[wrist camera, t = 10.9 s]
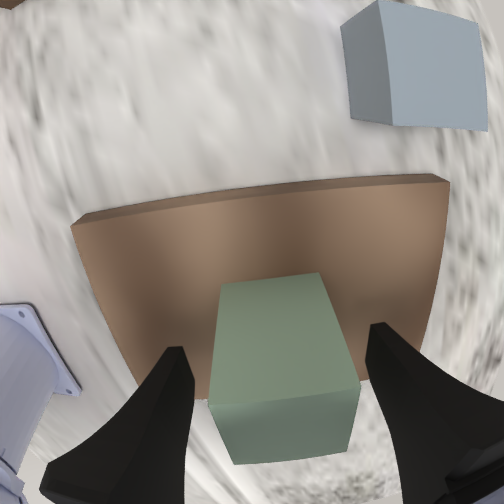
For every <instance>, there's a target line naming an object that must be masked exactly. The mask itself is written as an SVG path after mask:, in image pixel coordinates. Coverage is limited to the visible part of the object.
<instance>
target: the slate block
mask: <svg viewBox="0 0 504 504" xmlns="http://www.w3.org/2000/svg"><path fill="white" fill-rule="evenodd" d="M340 28H341V35H342V41H343V48H344V56H345V64H346V72H347V81H348V91H349V101H350V113H351V118H352V119H358V120H365V121H371V122H376V123H382V124H387V125H392V126H423V127H441V128H455V129H466V130H476V131H485V132H488V111H487V90H486V78H485V68H484V59H483V51H482V45H481V38H480V33H479V27H478V23H475V22H473V21H469V20H466V19H463V18H460V17H457V16H453V15H450V14H446V13H443V12H439V11H435V10H431V9H427V8H422V7H418V6H413V5H408V4H403V3H397V2H391V1H385V0H376V1H375V2H373V3H372V4H370V5H369V6H368V7H366V8H365V9H363V10H362V11H361V12H359V13H358V14H356V15H355V16H354V17H352V18H351V19H350V20H348V21H347V22H346V23H344V24H343V25H342V26H341V27H340Z"/></svg>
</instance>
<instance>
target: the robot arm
mask: <svg viewBox="0 0 504 504" xmlns="http://www.w3.org/2000/svg"><path fill="white" fill-rule="evenodd" d="M365 364H366V368H367V372H368V375H369V379H370V383H371V385H372V388H373V390H374V393H375V395H376V398H377V400H378V402H379V405H380V407H381V410H382V412H383V415H384V417H385V420H386V423H387V425H388V428H389V431H390V434H391V438H392V442H393V446H394V450H395V455H396V460H397V465H398V470H399V476H400V482H401V489H402V498H403V504H504V401H501V400H498V399H496V398H493V397H491V396H488V395H486V394H484V393H481V392H479V391H477V390H475V389H473V388H471V387H469V386H467V385H466V384H464V383H462V382H460V381H459V380H457V379H455V378H454V377H452V376H451V375H449V374H447V373H446V372H444V371H443V370H442V369H440V368H439V367H437V366H436V365H435V364H433V363H432V362H431V361H429V360H428V359H427V358H426V357H424V356H423V355H422V354H421V353H420V352H418V351H417V350H416V349H415V348H414V347H412V346H411V345H410V344H409V343H408V342H407V341H406V340H405V339H403V338H402V337H401V336H400V335H399V334H398V333H397V332H396V331H395V330H393V329H392V328H391V327H390V326H389V325H388V324H387V323H386V322H380V323H375V324H370V330H369V337H368V343H367V350H366V356H365ZM81 392H82V391H81V389H80V387H79V386H78V384H77V383H76V381H75V380H74V378H73V377H72V375H71V374H70V372H69V371H68V369H67V367H66V366H65V364H64V363H63V361H62V359H61V358H60V356H59V354H58V353H57V351H56V349H55V348H54V346H53V344H52V343H51V341H50V339H49V337H48V335H47V334H46V332H45V330H44V328H43V326H42V324H41V322H40V321H39V319H38V317H37V315H36V313H35V311H34V309H33V308H32V307H31V306H30V305H27V304H19V305H0V504H28V502H27V499H26V497H25V496H24V494H23V493H22V490H23V487H24V484H25V483H24V482H23V481H22V480H21V479H19V478H18V477H17V476H16V475H17V473H18V470H19V468H20V465H21V463H22V460H23V458H24V455H25V453H26V450H27V448H28V446H29V443H30V441H31V439H32V436H33V434H34V432H35V430H36V427H37V425H38V423H39V421H40V419H41V416H42V414H43V412H44V410H45V408H46V406H47V404H48V402H49V400H50V398H51V396H52V394H53V393H57V394H64V395H71V396H80V394H81ZM194 398H195V378H194V376H193V373H192V370H191V368H190V365H189V362H188V359H187V357H186V354H185V351H184V348H183V346H173V347H167V348H166V350H165V351H164V353H163V354H162V355H161V357H160V358H159V360H158V361H157V363H156V364H155V366H154V367H153V368H152V370H151V371H150V373H149V374H148V375H147V377H146V378H145V379H144V381H143V382H142V383H141V385H140V386H139V387H138V389H137V390H136V391H135V392H134V394H133V395H132V396H131V397H130V399H129V400H128V401H127V402H126V403H125V404H124V406H123V407H122V408H121V409H120V410H119V411H118V412H117V413H116V414H115V415H114V416H113V417H112V418H111V419H110V420H109V421H108V422H107V423H106V424H105V425H104V426H102V427H101V428H100V429H99V430H98V431H97V432H95V433H94V434H93V435H92V436H91V437H89V438H88V439H87V440H85V441H84V442H83V443H81V444H80V445H78V446H77V447H75V448H74V449H72V450H71V451H69V452H67V453H66V454H64V455H62V456H60V457H58V458H57V459H55V460H53V461H51V462H49V463H48V465H47V467H46V471H45V473H44V476H43V478H42V481H41V484H40V488H39V490H40V492H41V494H42V495H44V496H45V497H46V498H47V499H49V500H51V501H52V502H53V503H55V504H185V503H184V475H185V455H186V448H187V442H188V436H189V430H190V425H191V419H192V413H193V407H194Z"/></svg>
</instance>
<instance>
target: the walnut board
mask: <svg viewBox="0 0 504 504" xmlns="http://www.w3.org/2000/svg"><path fill="white" fill-rule="evenodd" d="M449 191H450V182H449V181H447V180H445V179H443V178H440V177H438V176H436V175H434V174H408V175H386V176H368V177H352V178H339V179H326V180H314V181H303V182H293V183H283V184H274V185H265V186H256V187H248V188H240V189H232V190H224V191H217V192H210V193H203V194H196V195H189V196H183V197H176V198H170V199H164V200H158V201H152V202H146V203H140V204H135V205H129V206H124V207H119V208H113V209H108V210H103V211H98V212H93V213H88V214H85V215H84V216H82V217H81V218H80V219H79V220H77V221H76V222H75V223H74V224H72V225H71V226H70V227H71V231H72V234H73V237H74V240H75V243H76V246H77V249H78V252H79V255H80V257H81V260H82V263H83V266H84V268H85V271H86V274H87V276H88V279H89V282H90V284H91V287H92V289H93V292H94V294H95V297H96V299H97V301H98V304H99V306H100V309H101V311H102V313H103V315H104V318H105V320H106V322H107V324H108V327H109V329H110V331H111V333H112V335H113V337H114V339H115V342H116V344H117V346H118V348H119V350H120V352H121V354H122V356H123V358H124V360H125V362H126V364H127V366H128V367H129V369H130V371H131V373H132V375H133V377H134V379H135V381H136V382H137V384H138V386H140V385H141V383H142V382H143V381H144V379H145V378H146V377H147V375H148V374H149V373H150V371H151V370H152V368H153V367H154V366H155V364H156V363H157V361H158V360H159V358H160V357H161V355H162V354H163V353H164V351H165V350H166V348H167V347H173V346H183V348H184V351H185V354H186V357H187V359H188V362H189V365H190V368H191V370H192V373H193V376H194V378H195V398H194V399H208V398H209V388H210V378H211V369H212V360H213V351H214V342H215V333H216V324H217V316H218V308H219V299H220V291H221V284H227V283H236V282H245V281H253V280H262V279H270V278H278V277H286V276H294V275H302V274H310V273H317V272H319V274H320V276H321V279H322V281H323V284H324V286H325V289H326V291H327V294H328V297H329V299H330V302H331V304H332V307H333V309H334V312H335V315H336V317H337V320H338V323H339V325H340V328H341V331H342V333H343V336H344V339H345V341H346V344H347V347H348V350H349V352H350V355H351V358H352V361H353V364H354V366H355V369H356V372H357V375H358V378H359V381H363V380H368V379H369V375H368V372H367V368H366V364H365V356H366V350H367V343H368V337H369V330H370V324H375V323H380V322H386V323H387V324H388V325H389V326H390V327H391V328H392V329H393V330H395V331H396V332H397V333H398V334H399V335H400V336H401V337H402V338H403V339H405V340H406V341H407V342H408V343H409V344H410V345H411V346H412V347H414V348H415V349H416V350H417V351H418V352H420V348H421V345H422V342H423V338H424V334H425V331H426V327H427V323H428V319H429V315H430V311H431V307H432V303H433V299H434V294H435V289H436V285H437V280H438V274H439V269H440V263H441V258H442V251H443V245H444V238H445V231H446V222H447V213H448V203H449Z"/></svg>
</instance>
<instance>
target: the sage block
mask: <svg viewBox="0 0 504 504" xmlns="http://www.w3.org/2000/svg"><path fill="white" fill-rule="evenodd" d="M360 391H361V384H360V381H359V378H358V375H357V372H356V369H355V366H354V364H353V361H352V358H351V355H350V352H349V350H348V347H347V344H346V341H345V339H344V336H343V333H342V331H341V328H340V325H339V323H338V320H337V317H336V315H335V312H334V309H333V307H332V304H331V302H330V299H329V297H328V294H327V291H326V289H325V286H324V284H323V281H322V279H321V276H320V274H319V272H317V273H310V274H302V275H294V276H286V277H278V278H270V279H262V280H253V281H245V282H236V283H227V284H221V291H220V299H219V308H218V316H217V324H216V333H215V342H214V351H213V360H212V369H211V378H210V388H209V398H208V407H209V409H210V411H211V414H212V416H213V419H214V421H215V423H216V426H217V428H218V430H219V433H220V435H221V437H222V440H223V442H224V444H225V446H226V449H227V451H228V453H229V455H230V457H231V460H232V462H233V464H234V465H241V464H258V463H271V462H281V461H290V460H298V459H306V458H312V457H319V456H325V455H330V454H336V453H341V452H346V451H347V448H348V444H349V440H350V436H351V432H352V428H353V423H354V419H355V415H356V410H357V405H358V401H359V396H360Z"/></svg>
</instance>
